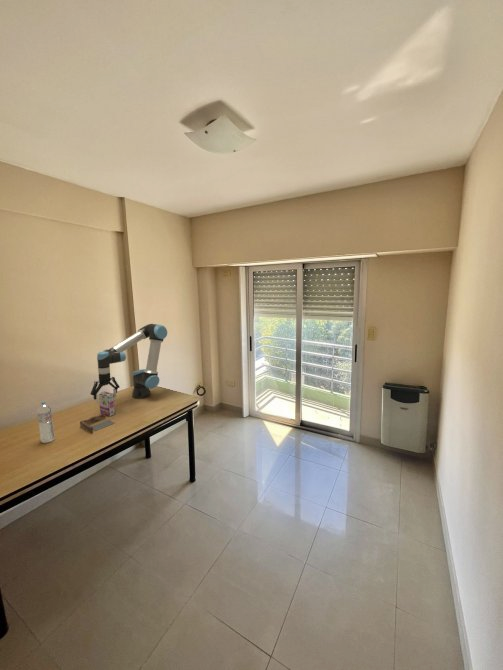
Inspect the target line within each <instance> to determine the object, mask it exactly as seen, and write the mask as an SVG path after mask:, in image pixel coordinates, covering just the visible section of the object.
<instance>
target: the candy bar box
mask: <svg viewBox="0 0 503 670" xmlns="http://www.w3.org/2000/svg"><path fill="white" fill-rule="evenodd" d="M98 403H99V411H100V412H99V413H100V414H102V413H105V417H106V416H107V417H112V416H115V415H116V409H115V407H116V406H115V398H114V393H113V392H107V391H102V392H98ZM100 414H99V415H100Z"/></svg>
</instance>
